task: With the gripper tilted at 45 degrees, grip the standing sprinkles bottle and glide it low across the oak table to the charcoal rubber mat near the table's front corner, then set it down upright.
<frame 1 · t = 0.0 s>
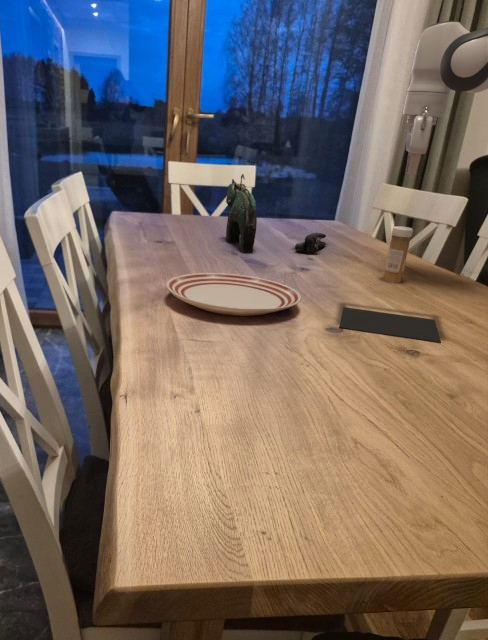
hand: (410, 173, 135), 25 cm above the table, tool pointing down, fingers open, 8 cm apart
sprinkles bottle: (390, 284, 141), on the table
rubber mat: (388, 324, 111), on the table
dinner plate: (231, 304, 118), on the table
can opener: (313, 250, 173), on the table
green horse figurine: (239, 247, 171), on the table
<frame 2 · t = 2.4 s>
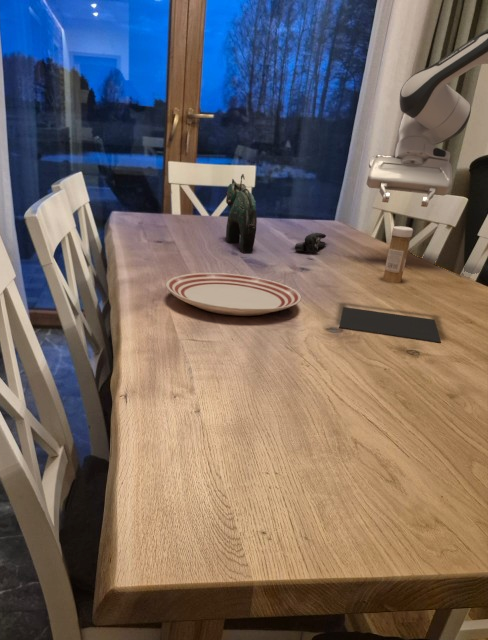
hand: (404, 203, 143), 18 cm above the table, tool tilted 45°, fingers open, 8 cm apart
nothing on the table moved.
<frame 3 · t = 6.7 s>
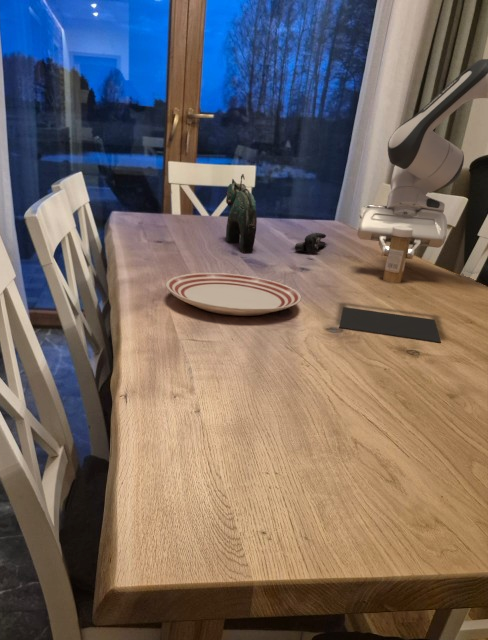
hand: (397, 256, 137), 7 cm above the table, tool tilted 45°, fingers closed on sprinkles bottle, 4 cm apart
sprinkles bottle: (390, 284, 141), on the table, touching gripper
everything else where it was.
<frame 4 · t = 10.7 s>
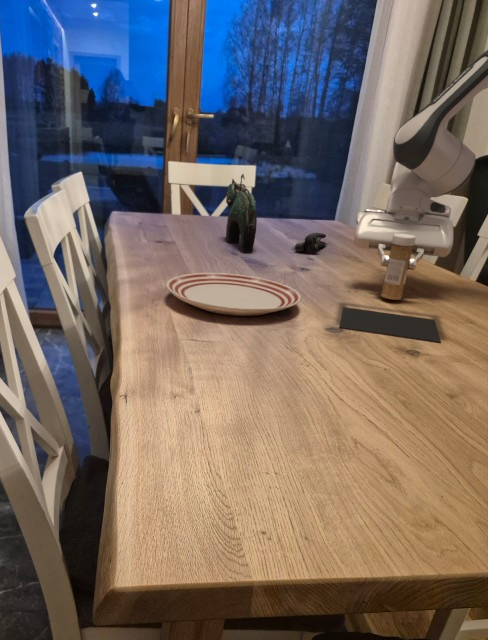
hand: (398, 266, 122), 8 cm above the table, tool tilted 45°, fingers closed on sprinkles bottle, 4 cm apart
sprinkles bottle: (390, 298, 126), point 1 cm above the table, touching gripper
everything else where it was.
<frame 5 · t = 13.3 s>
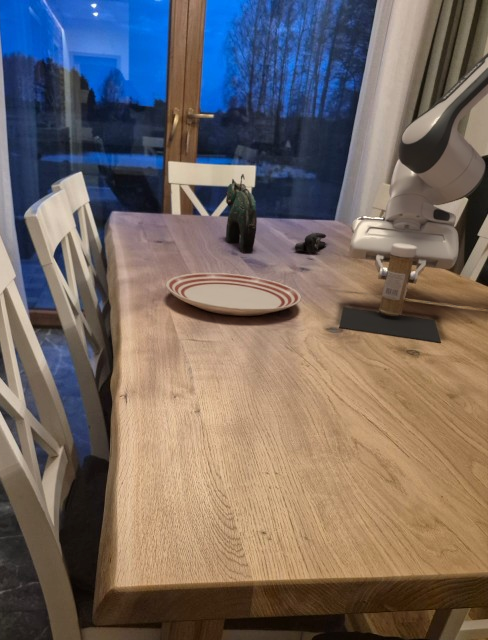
hand: (397, 279, 111), 8 cm above the table, tool tilted 45°, fingers closed on sprinkles bottle, 4 cm apart
sprinkles bottle: (389, 313, 115), point 1 cm above the table, touching gripper
everything else where it was.
when the fingers open (7 cm above the table, at t = 14.9 s): sprinkles bottle stays where it is, resting on rubber mat.
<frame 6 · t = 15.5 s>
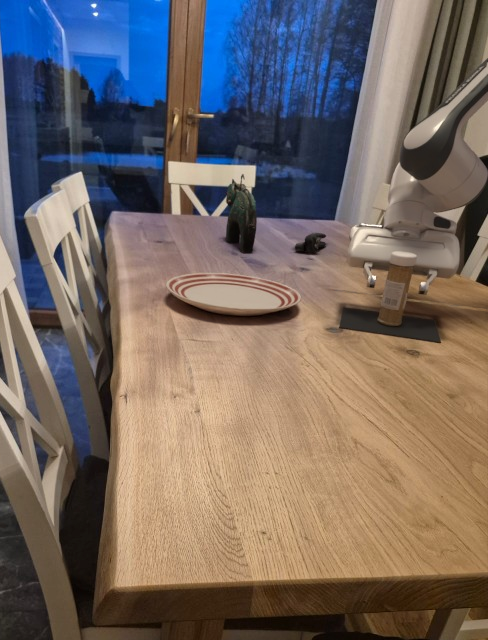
hand: (396, 289, 108), 7 cm above the table, tool tilted 45°, fingers open, 8 cm apart
sprinkles bottle: (388, 324, 111), resting on rubber mat
everything else where it was.
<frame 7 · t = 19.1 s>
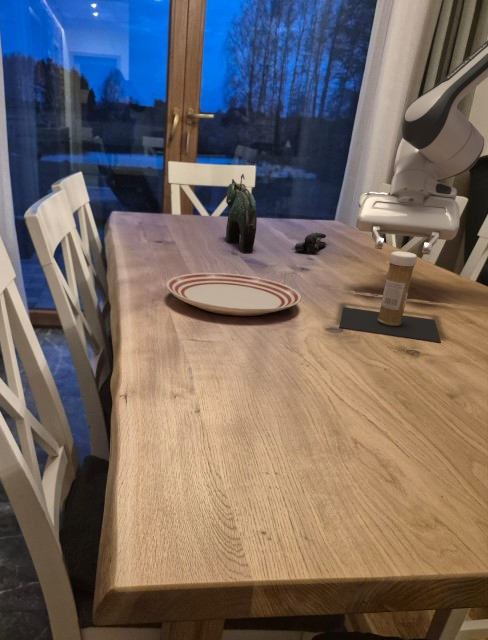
hand: (402, 250, 118), 12 cm above the table, tool tilted 45°, fingers open, 8 cm apart
nothing on the table moved.
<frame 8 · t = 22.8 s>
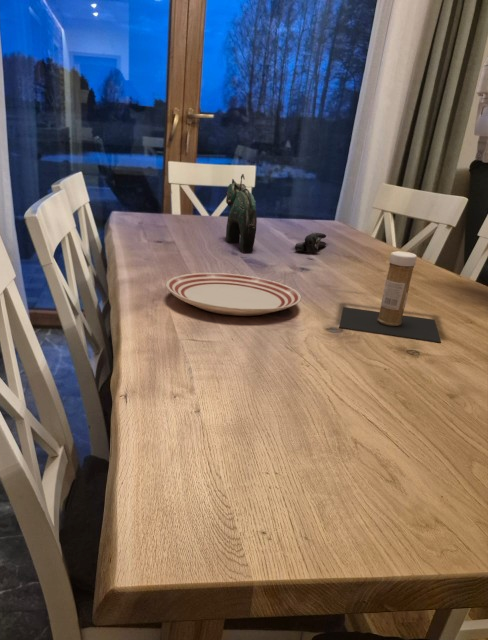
hand: (482, 161, 118), 29 cm above the table, tool pointing down, fingers open, 8 cm apart
nothing on the table moved.
at the end: sprinkles bottle inside the target area on the rubber mat (0.0 cm from its centre), point 0.0 cm above the rubber mat's base; sprinkles bottle tilted 0°; sprinkles bottle moved 34.0 cm from its start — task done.
